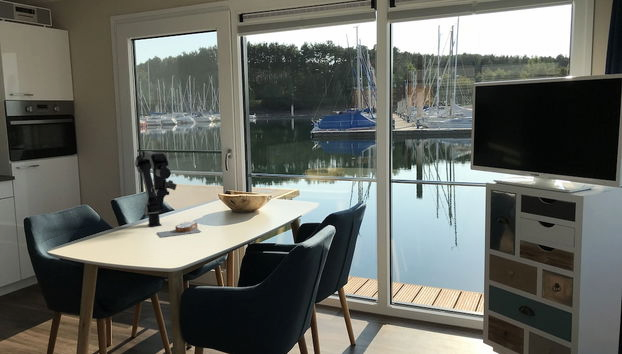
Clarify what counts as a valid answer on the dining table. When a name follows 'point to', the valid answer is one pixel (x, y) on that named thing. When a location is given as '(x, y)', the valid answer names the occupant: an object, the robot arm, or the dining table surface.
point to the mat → (176, 233)
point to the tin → (186, 227)
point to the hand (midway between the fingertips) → (161, 206)
